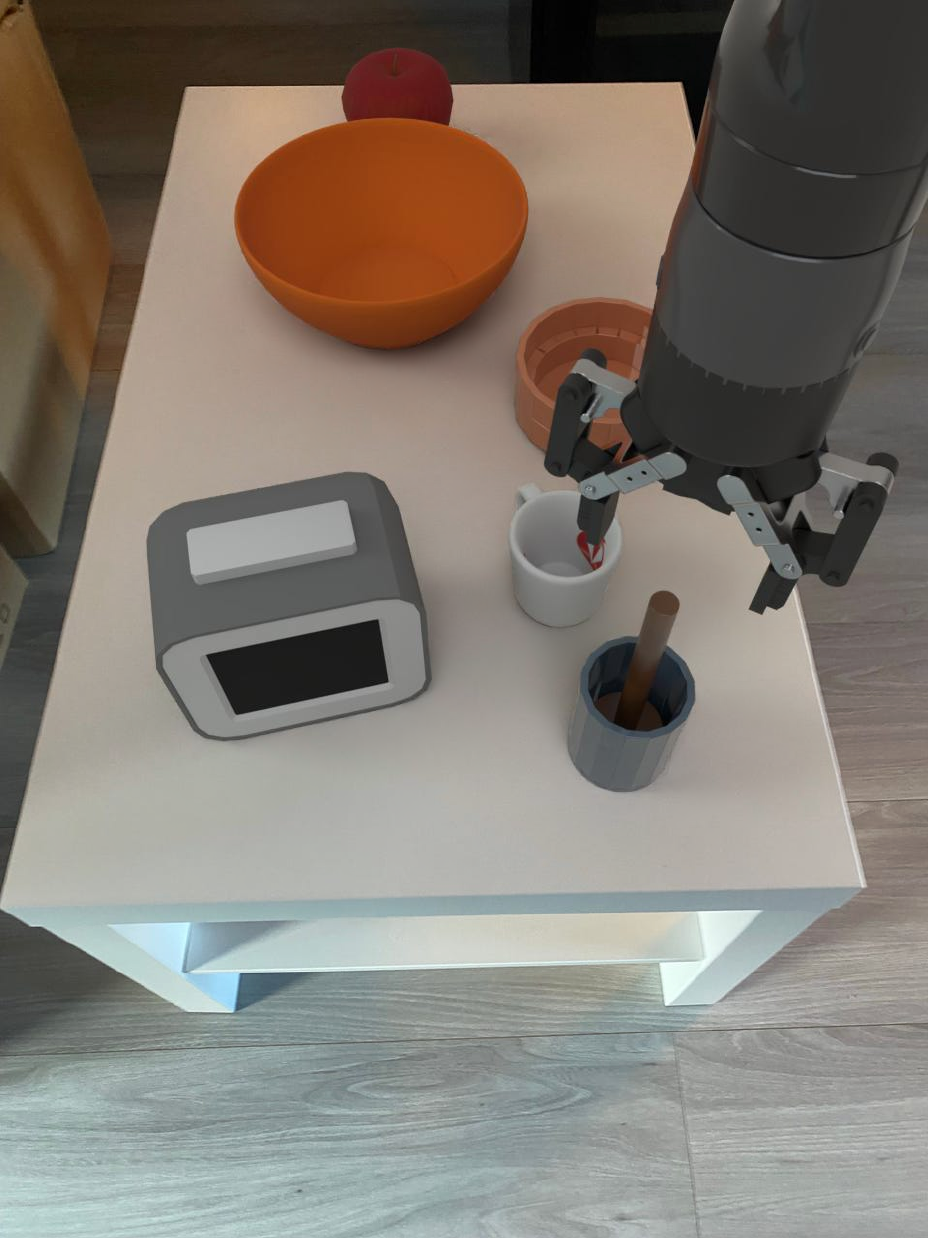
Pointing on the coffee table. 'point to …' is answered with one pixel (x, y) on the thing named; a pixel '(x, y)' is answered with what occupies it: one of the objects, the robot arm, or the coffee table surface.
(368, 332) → the bowl
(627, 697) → the wooden plunger
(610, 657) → the utensil crock
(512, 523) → the cup
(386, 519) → the alarm clock
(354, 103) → the apple
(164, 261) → the coffee table surface
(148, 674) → the coffee table surface
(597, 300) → the mixing bowl
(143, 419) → the coffee table surface
